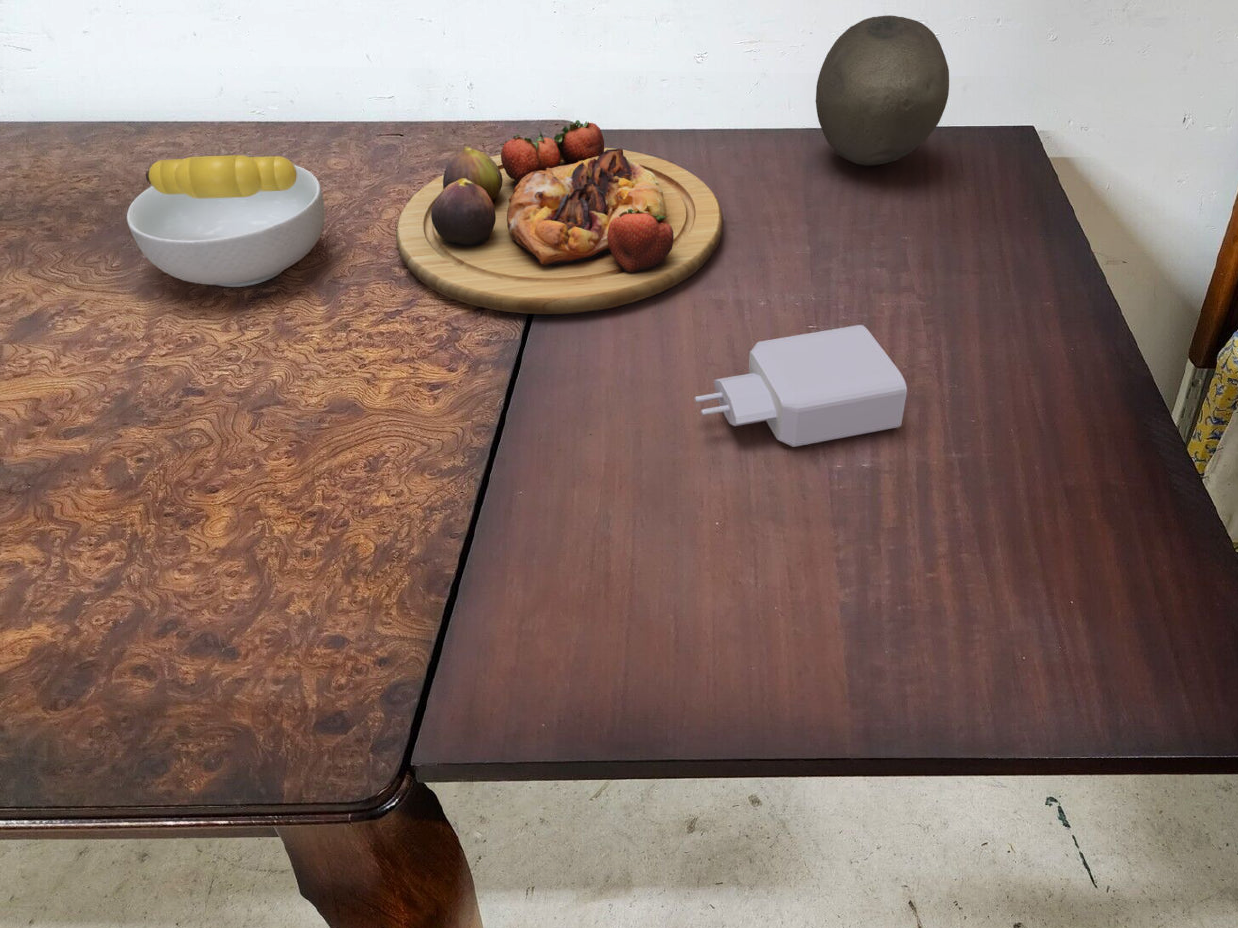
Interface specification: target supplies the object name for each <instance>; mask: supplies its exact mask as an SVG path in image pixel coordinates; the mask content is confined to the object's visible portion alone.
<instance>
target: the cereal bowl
mask: <svg viewBox="0 0 1238 928" xmlns="http://www.w3.org/2000/svg"><path fill="white" fill-rule="evenodd" d="M293 165H294V167H295V168H296V172H297V179H296V182H295V184H294V185H293V186H292V187H291V188H290V189H288V190H284V191H261V192H258V193H256V194H255V195H253V196H250V197H235V198H205V199H198V198H193V197H190V196H188V195H186V194H170V195H169V194H163V193H161V192H159V191H157V190H156V189H155V188H154V187H153V186H152V185H150V186H149V187H148V188H146V189H145V190H143V191H142V192H141V193H140V194H139V195H138V196H136V197H135V198H134V199H133V200H132V202H131V204H130V205H129V207H128V209H127V213H126V221H127V225H128V229H129V231H130V232H131V235H132V237H133V239H134V241H135V242H136V245H137V247H138V248H139V250H140V252H142V255H144V256H145V257H146V259H147V260H148V261H149V262H150V263H151V264H152V265H154V266H155V267H156V268H158V269H159V270H161V271H162V272H163V273H165V274H168V275H169V276H171V277H174V278H175V279H179V280H181V281H185V282H188V283H194V284H201V285H210V286H219V287H225V288H226V287H227V288H240V287H241V288H242V287H249V286H253V285H257V284H261V283H264V282H267V281H269V280H272V279H274V278H275V277H277V276H278V275H280V274H281V273H283V271H285V270H286V269H288V268H290V267H292V266H294V265H295V264H296V263H298V262H300V261H301V260H302V259H303V258H304V257H306V255H308V254H309V253H310V252H311V251H312V249H313V248H315V246H316V244H317V243H318V241H319V240H320V238H321V235H322V233H323V229H324V226H325V221H326V216H325V215H326V209H325V201H324V195H323V190H322V187H321V183H320V182H319V180H318V178H317V177H316V176H315V175H314V174H313V173H312V172H311V171H309V170H307V169H306V168H304V167H301V166H298V165H296V164H293Z"/></svg>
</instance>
